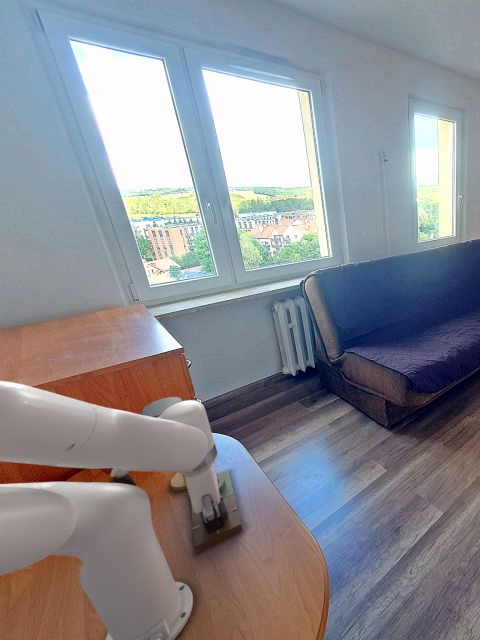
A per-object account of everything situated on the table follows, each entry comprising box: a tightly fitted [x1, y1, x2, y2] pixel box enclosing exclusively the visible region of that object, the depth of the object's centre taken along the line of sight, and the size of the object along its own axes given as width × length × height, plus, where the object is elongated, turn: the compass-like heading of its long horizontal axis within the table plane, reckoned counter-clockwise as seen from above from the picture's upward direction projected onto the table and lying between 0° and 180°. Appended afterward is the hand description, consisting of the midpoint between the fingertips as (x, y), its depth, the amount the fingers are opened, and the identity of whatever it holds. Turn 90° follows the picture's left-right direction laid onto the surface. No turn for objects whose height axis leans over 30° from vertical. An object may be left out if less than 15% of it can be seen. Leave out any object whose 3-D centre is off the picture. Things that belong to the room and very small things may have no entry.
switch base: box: [190, 469, 236, 514], centre depth 86 cm, size 10×9×3 cm
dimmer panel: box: [190, 494, 244, 554], centre depth 78 cm, size 10×9×2 cm
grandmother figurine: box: [109, 468, 138, 487], centre depth 81 cm, size 8×4×13 cm, turn 84°
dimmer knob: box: [199, 494, 228, 528], centre depth 77 cm, size 5×5×5 cm
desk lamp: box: [141, 396, 188, 491], centre depth 86 cm, size 8×8×24 cm
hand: (214, 513), depth 77 cm, fingers open, 9 cm apart
